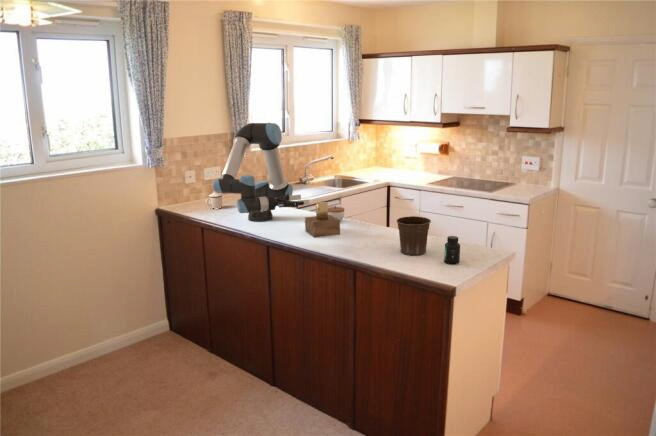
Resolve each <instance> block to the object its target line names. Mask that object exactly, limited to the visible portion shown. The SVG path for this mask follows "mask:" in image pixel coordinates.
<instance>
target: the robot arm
mask: <svg viewBox="0 0 656 436" xmlns="http://www.w3.org/2000/svg"><path fill="white" fill-rule="evenodd" d="M282 141H283V140H282V130H281V128H280V126H279V124H277V123H275V122H274V123H273V122H250V123H249V122H248V123H246V124H244V125H243V126H242V127H241V128H240V129H239V130H238V131H237V132H236V133H235V135H234V137H233V140H232V143H233V145H232V147H231V149H230V153H229V154H228V157H227V159H226V163H225V165H224V168H223V170H222V173H221V175H220V178H215V179H213V183H212V188H213V192H214V191H215V192H216V193H219V194H235V195H237V194H238V195H240V198H239V199H237V201H236V207H237V211H238V213H239V214H248V215H247V219H248V221H251V222H266V221H271V220H273V218H274V217H273V213H272V211H274V210H276V209H277V208H276V207H278V208H280V209H281V208H296V209H297V208H299V207H300V206H301V207H302V206H309V205H310V199H302V195H301V194H293V191H294V190H293V185H292V184H290V183H289V182H288V180H287V179H286V177H285V175H284V171H283V165H282V161H281V156H280V153H279V146H280V144H281V142H282ZM251 145H258V147H259V149H260V150H261V151H262V152H263V157H264V160H265V164H266V169H267V173H268V178H269V181H270V182H269V181H268V180H261V181H255V176H253V175H251V174H245V175H243V174H242V175H241V176H240V177H239V178H237V175H238V173H239V171H240V168H241V166H242V162H243V159H244V157H245V154H246V151H247V150H248V149H249V148H250V146H251Z"/></svg>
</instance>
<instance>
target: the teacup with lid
mask: <svg viewBox="0 0 656 436" xmlns="http://www.w3.org/2000/svg"><path fill="white" fill-rule="evenodd" d="M222 194H223V193H216V192H215V191H214V190H213V192H212V193H211V194H208V198H207V199H205V204H206V205H207V206H208V207H209V209H210V208H220V207H222V206H223V195H222ZM208 201H209V202H208ZM208 203H209V204H208ZM222 208H223V207H222Z"/></svg>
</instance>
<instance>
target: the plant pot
mask: <svg viewBox="0 0 656 436" xmlns="http://www.w3.org/2000/svg"><path fill="white" fill-rule="evenodd" d="M431 222H432V220H431V219H430V218H428V217H424V216H410V215H409V216H403V217H399V218H397V219H396V223H397V229H398V233H399V244H400V253H402V254H404V255H405V256H406V255H407V256H408V255H409V256H410V257H411V256H412V257H413V256H414V257H415V256H416V257H418V256H422V255H424V254H426V252H427V244H428V235H429V229H430V226H431V225H430V224H431Z"/></svg>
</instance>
